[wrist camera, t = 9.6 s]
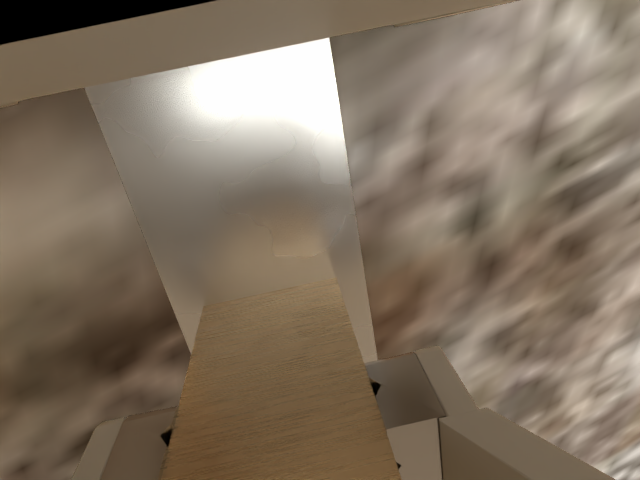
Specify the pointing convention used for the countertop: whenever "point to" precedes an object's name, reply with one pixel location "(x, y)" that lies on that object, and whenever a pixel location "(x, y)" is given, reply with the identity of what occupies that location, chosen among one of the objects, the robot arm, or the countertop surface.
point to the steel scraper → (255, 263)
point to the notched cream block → (174, 34)
